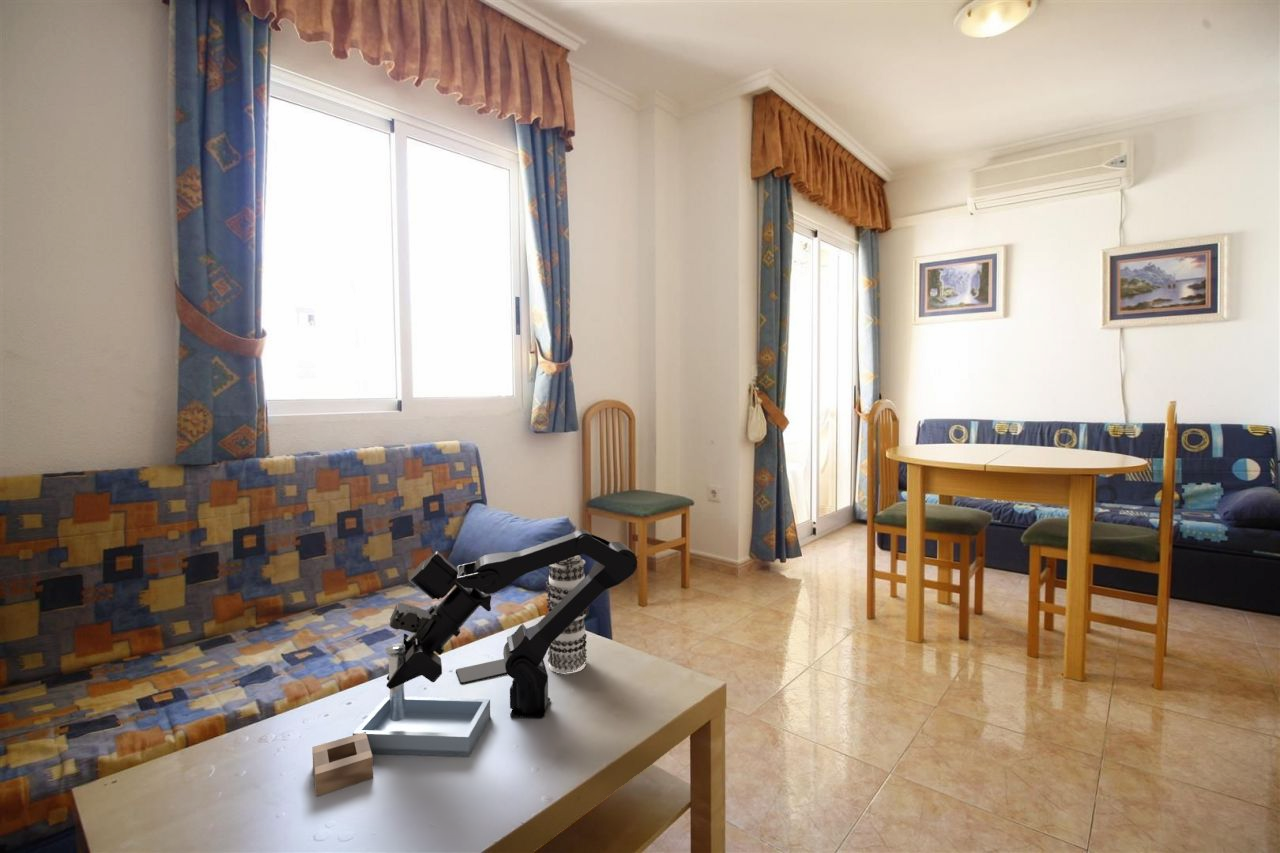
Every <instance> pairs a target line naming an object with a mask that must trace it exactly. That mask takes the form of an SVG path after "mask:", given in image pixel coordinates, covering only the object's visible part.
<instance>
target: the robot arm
mask: <svg viewBox="0 0 1280 853" xmlns="http://www.w3.org/2000/svg"><path fill="white" fill-rule="evenodd" d="M578 555H579V556H581V555H585V556H587V557H588V558H590V559H592V560H594V563H593V565H592V567H591V568H590V570H589V573H588V574H587V575H585V578H584V579H583V580H582V581H581V582H580V583H579V584H578V585H577V586H576V587H575V588H573V589H572V590H571V591H570V592H569V593H568V594H567V595H566V596H565V597H564V598H563V599H562V600H561V601H560V602H559V603H558V604H557V605H556V606H555V607H554V608H553V609H552V610H551V611H550V612H547V613H546V615H545V616H543V617H542V619H541V620H539V621H538V622H537V623H536V624H535V625H532V626H530V627H528V628H527V627H526V626H525V624H523V623H522V624H520V626H518V628H517V629H516V630H515V632H513V633H512V634H511V635H509V636H507V638H506V640H507V642H506V643H505V645H504V647H503V651H502V652H503V654H502V655H503V659H504V663H505V669H506V672H507V674H508V676H509V678H512V679H513V680H512V684H511V686H510V687H509V708H510V709H511V711H510V713H509V716H510V717H511V718H524V719H525V718H526V719H527V718H529V719H532V718H533V719H534V718H535V719H544V717H545V715H546V714H547V711H548V708H549V706H548V705H550V702H551V698H550V697H549V674H548V671H547V668H546V664H545V661H544V659H545V657H546V655H547V653H548V651H549V646H550V645H551V643H552V642H553V641H554V640H555V639H556V638H557V637H558V636H559V635H560V634H561V633H562V632H563V631H564V630H565V629H566V628H567V627H568V626H569V625H570V624H571V623H572V622H573V621H574V620H575V619H576V618H577V617H578V616H579V615H580V614H582V613H583V612H584V611H585V610H586V611H587V609H588V608H589V607H590V606H591V605H592V604H593V603H594V602H595V601H596V600H597V599H598V598H599V597H600V596H601V595H602V594H603V593H604V592H606V591H608V590H609V589H612V588H614V587H616V586H619V585H620V584H622V583H623V582H624V581H626V580H628V579H629V578H631V576H633V575H634V574H635V573H636V572H637V569H638V558H637V556H636V554H635V553H634V552H633V551H632V550H631V548H629V547H628V546H627V545H626V544H624V543H623V542H621V541H608V540H607V539H605V538H602V537H600V536H598V535H595V534H593V533H590V531H588V530H587V529H583V528H581V529H577V530H575V531H574V532H572V533H569V534H565V535H563V536H560V537H557V538H554V539H551V540H548V541H545V542H542V543H539V544H536V545H533V546H531V547H527V548H525V549H522V550H519V551H513V552H512V551H511V552H509V551H507V552H505V551H504V552H503V551H502V552H501V551H500V552H495V553H489V554H485V555H482V556H480V557H479V558H477V559H476V561H472V562H468V563H464V564H459V565H457V566H455V565H453V563H451V562H450V561H449V560H447V559H446V558H445V557H444V555H443V554H442V553H441V552H439V551H438V550H437V551H434V553H433V554H432V555H429V557H427V558H426V559H425V560H423V561H422V562H420V564H418V566H417V567H416V568H415V569H414V570H413V572H412V573H411V574H410V576H409V578H408V581H409V583H411V584H413V586H415V587H416V588H418V589H419V590H420V591H421V592H423V593H424V594H425V595H426V596H428V597H429V598H430V599H432V600H435V599H437V600H439V599H443V598H444V599H443V600H441V602H440V603H439V604H438V605H436V604H435V605H432V606H430V608H428V609H427V610H425V609H423V608H421V607H418V606H415V605H411V604H408V603H404V602H397V603H396V605H395V607H394V609H393V612H392V614H391V616H390V618H389V622H390V623H389V627H390V628H391V629H394V630H401V631H402V630H403V631H406V632H410V633H409V634H407V633H406V632H405V633H403V635H402V636H403V638H402V641H403V642H402V643H403V644H404V645H405V648H404V649H403V661H402V662H401V664H400V665H399V667H398V668H397V670H396V671H395V673H394V674H393V675H392V677H391V678H390V680H389V674H388V675H387V677H386V680H387V683H386V686H385V687H387V689H389V690H390V689H392V688H394V687H397V686H399V685H401V684H403V683H404V684H405V683H407V682H410V681H412V680H413V679H416V678H419V677H421V676H422V677H424V678H425V679H426V680H428V681H429V682H431V683H435V682H436V681H437V680H438V679H439V678H440V676H442V674H443V667H442V666H443V665H442V657H441V655H442V654H443V653H444V652H445V645H447V643H448V642H449V641H450V640H451V639H452V638H453V636H455V637H456V638H457V637H458V636H459V635H460V634H461V627H462V626H463V625H464V624H466V621H468V620H469V619H470V617H472V615H473V614H474V613H475V612H476V611H477V609H479V607H482V608H483V609H484V610H485V611H486V612H491V611H492V607H491V605H492V604H491V600H492V594H494V593H497V592H499V591H501V590H504V589H505V588H506V587H508V586H510V585H511V584H513V583H515V582H516V581H517V580H518V579H519V578H520V577H522V576H524V575H527V574H529V573H532V572H535V571H537V570H540V569H542V568H543V569H544V568H546V567H548V566H549V567H550V565H552V564H555V563H558V562H560V561H563V560H566V559H569V558H572V557H575V556H578ZM546 710H547V711H546Z"/></svg>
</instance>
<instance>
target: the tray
mask: <svg viewBox="0 0 1280 853" xmlns="http://www.w3.org/2000/svg"><path fill="white" fill-rule="evenodd" d="M490 718H491V698H474V697H473V698H466V697H465V698H464V697H435V696H434V697H432V696H430V697H429V696H405V718H404V719H402V720H400V721H392V720H391V711H390V695H386V696H385V697H384V698H383V699H382V701H381V702H380V703H379V704H378V705H377V706H376V707H375V708H373V710H372V711H371V713H370V714H369V715H368V716H367V717H366V718H365V719H364V720H363V722H361V723H360V725H359V726H358V727H357V728H356V729H355V730H354V731H353V732H352V736H353V735H356V734H360V733H361V734H366V735H367V738H368V742H369V746H370V749H371V753H372V755H373V754H374V755H398V756H399V755H400V756H401V755H403V756H429V757H431V756H432V757H433V756H435V757H459V758H460V757H463V758H464V757H465V758H469V757H470V756H471V753H472V752H473V750H474V748H475V746H476V744H477V743H478V740H479V738H480V737H481V735H482V733H483V731H484V729H485V728H486V726H487V724H488V722H489V720H490ZM364 732H365V733H364Z"/></svg>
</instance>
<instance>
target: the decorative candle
mask: <svg viewBox="0 0 1280 853" xmlns="http://www.w3.org/2000/svg"><path fill="white" fill-rule="evenodd" d="M585 564H586V560H585V559H583V558H582V557H581V555H578V556H575V557H572V558H569V559H566V560H563V561H560V562H558V563H555V564H552V565H549V575H548V579H546V582H545V586H546V590H545V593H546V594H547V595H546V602H547V605H546V608H547V610H548V612H547V613H549V612H550V611H551V610H552V609H553V608H554V607H555V606H556V605H557V604H558V603H559V602H560V601H561V600H562V599H563V598H564V597H565V596H566V595H567V594H568V593H569V592H570V591H571V590H572V589H573V588H575V587H576V586H577V585H578V584H579V583H580V582H581V581H582V580H583V579H584V578H585V577H586V574H585V572H584V571H585V570H584V569H585ZM586 615H587V609H586V610H585V611H584V612H583V613H582V614H580V615H579V616H578V617H577V618H576V619H575V620H574V621H573V622H572V623H571V624H570V625H569V626H568V627H567V628H566V629H565V630H564V631H563V632H562V633H561V634H560V635H559V636H558V637H557V638H556V639H555V640H554V641H553V642H552V643H551V645H550V646H549V648H548V650H547V655H548V658H547V662H548V669H549V668H550V669H551V670H552V671H555V672H559V673H567V672H573V670H574V671H575V670H577V669H578V668H580V667H581V666H582V665H583V664H584V662H585V661H586V662H587V658H588V656H587V651H588V650H587V648H586V647H587V640H586V639H587V637H588V636H587V633H586V625H585V617H586ZM550 669H549V670H550ZM551 670H550V671H551ZM552 671H551V672H552Z"/></svg>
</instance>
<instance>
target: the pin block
mask: <svg viewBox="0 0 1280 853" xmlns="http://www.w3.org/2000/svg"><path fill="white" fill-rule="evenodd" d="M364 733H365V732H364ZM311 751H312V769H313V770H312V771H313V780H314V787H315V796H316V797H319V796H321V795H325V794H329V793H332V792H334V791H336V790H337V791H338V790H340V789H344V788H346V787H349V786H350V787H351V786H352V785H356V784H360V783H361V782H362V783H363V782H365V781H368V780H371V779H374V764H373V763H374V762H373V759H374V758H373V754H372V753H371V749H370V746H369V742H368V738H367V735H366V734H361V733H360V734H356V735H353V734H352V735H351V736H347V737H343V738H340V739H336V740H331V741H329V742H325V743H321V744H317V745H314V746H312V750H311Z"/></svg>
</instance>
